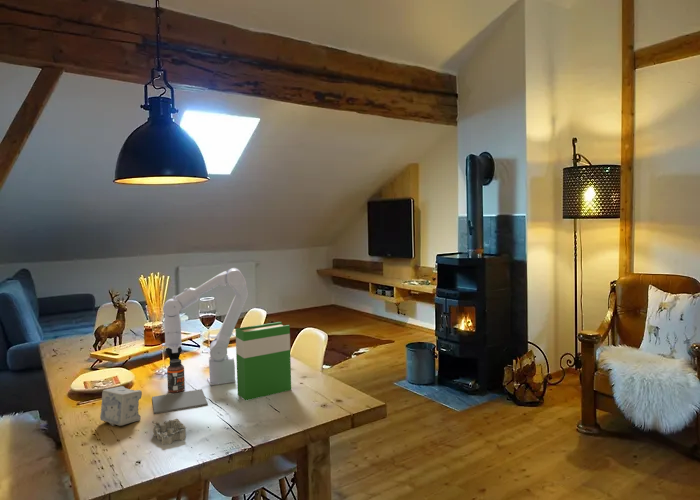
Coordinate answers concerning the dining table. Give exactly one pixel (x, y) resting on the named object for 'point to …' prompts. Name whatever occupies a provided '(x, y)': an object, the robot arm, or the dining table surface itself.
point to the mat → (178, 401)
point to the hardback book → (263, 360)
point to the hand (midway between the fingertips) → (174, 366)
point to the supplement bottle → (175, 376)
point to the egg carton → (169, 431)
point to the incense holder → (120, 405)
